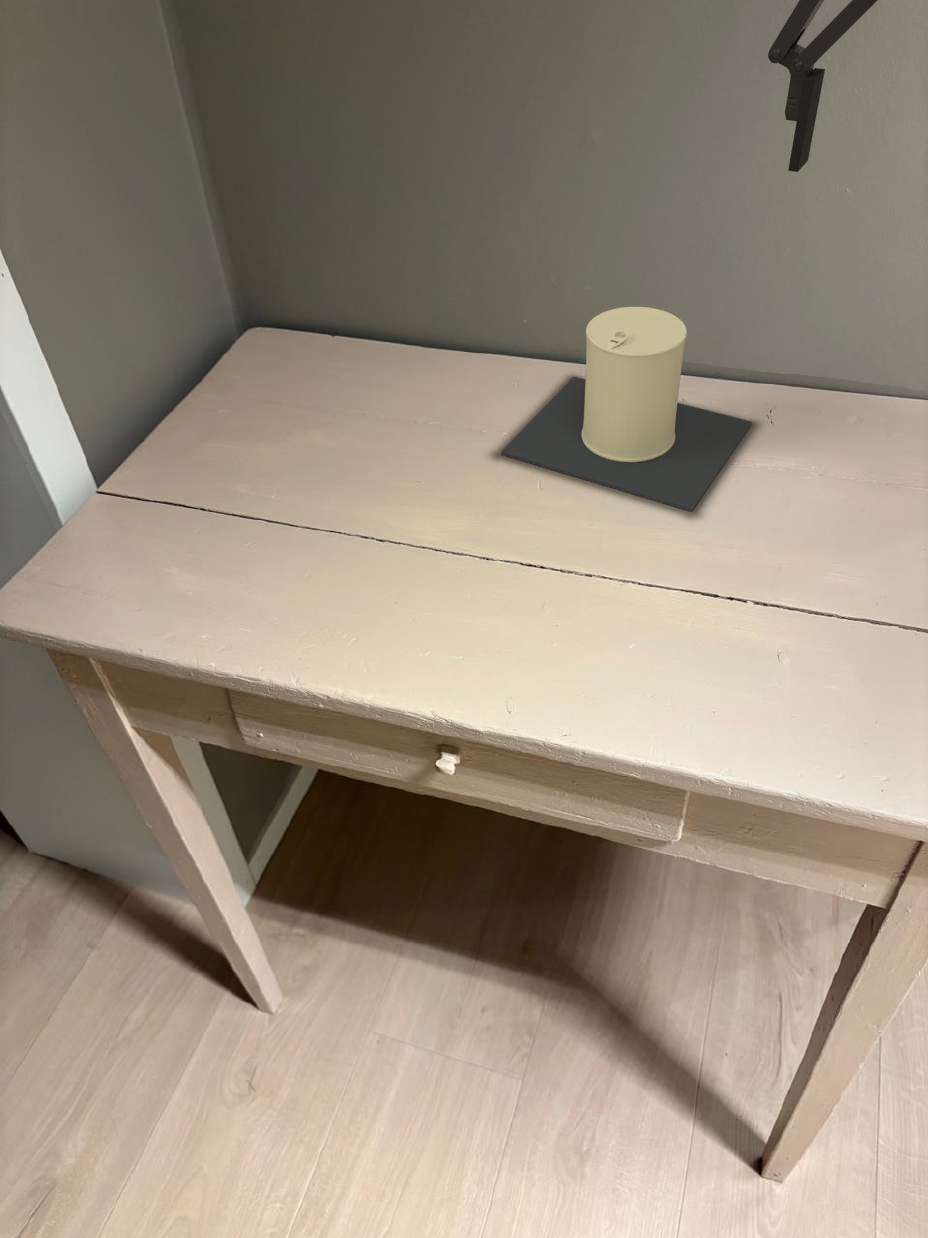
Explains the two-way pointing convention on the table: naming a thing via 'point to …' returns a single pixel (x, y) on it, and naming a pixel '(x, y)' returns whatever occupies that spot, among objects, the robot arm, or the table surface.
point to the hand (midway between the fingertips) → (887, 178)
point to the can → (632, 383)
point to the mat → (663, 479)
